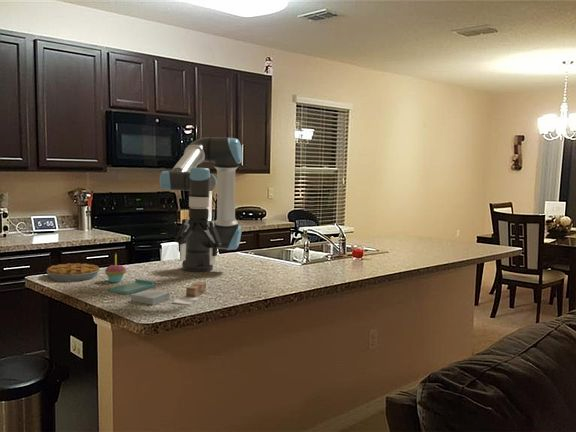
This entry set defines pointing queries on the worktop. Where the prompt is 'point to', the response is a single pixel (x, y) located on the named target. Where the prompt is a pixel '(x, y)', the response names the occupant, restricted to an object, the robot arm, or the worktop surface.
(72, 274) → the pie
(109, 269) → the cupcake
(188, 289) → the turner
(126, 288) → the rest
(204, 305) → the worktop surface
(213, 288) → the worktop surface
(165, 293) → the tile
